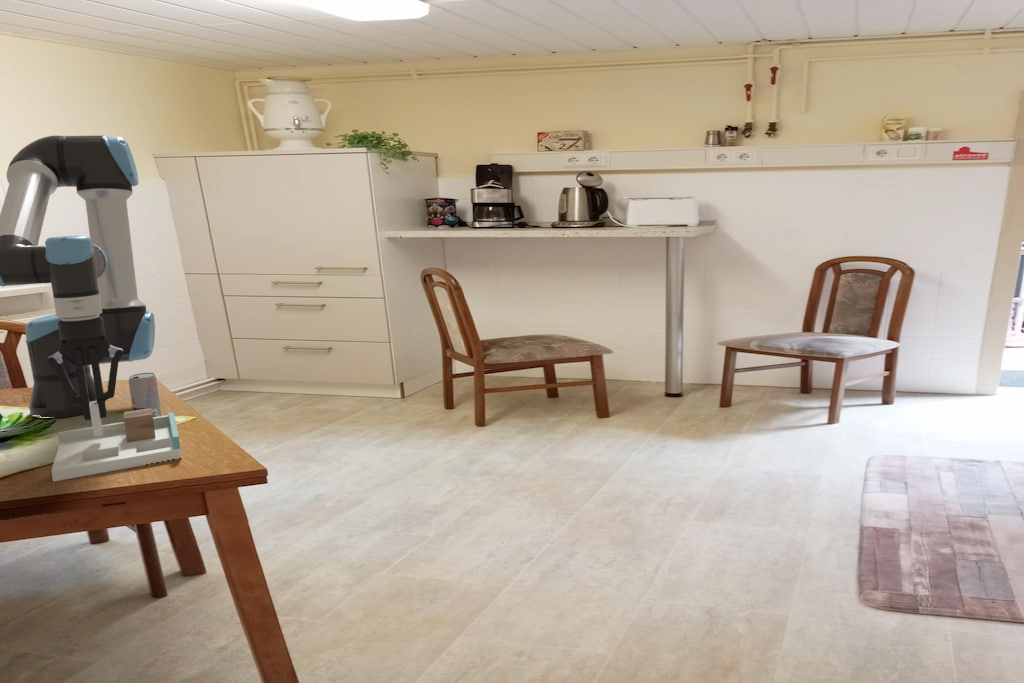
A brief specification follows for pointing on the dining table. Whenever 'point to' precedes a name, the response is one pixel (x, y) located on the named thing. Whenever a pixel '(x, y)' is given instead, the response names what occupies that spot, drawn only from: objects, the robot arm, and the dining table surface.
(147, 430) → the walnut block
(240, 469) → the dining table surface
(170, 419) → the board
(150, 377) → the energy drink
